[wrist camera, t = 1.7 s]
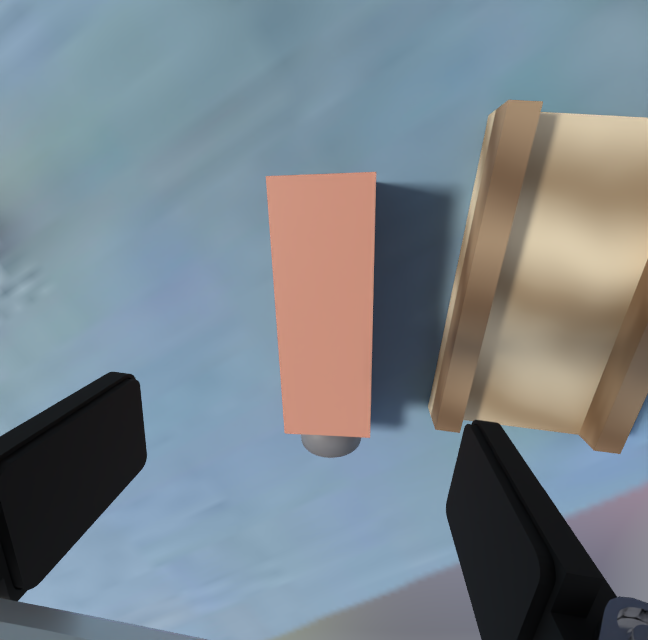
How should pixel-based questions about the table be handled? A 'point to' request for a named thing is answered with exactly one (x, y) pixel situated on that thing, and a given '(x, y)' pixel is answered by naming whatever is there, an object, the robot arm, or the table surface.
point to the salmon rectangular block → (324, 304)
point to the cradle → (551, 280)
